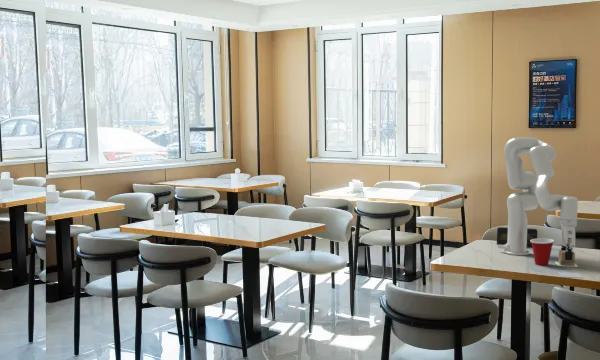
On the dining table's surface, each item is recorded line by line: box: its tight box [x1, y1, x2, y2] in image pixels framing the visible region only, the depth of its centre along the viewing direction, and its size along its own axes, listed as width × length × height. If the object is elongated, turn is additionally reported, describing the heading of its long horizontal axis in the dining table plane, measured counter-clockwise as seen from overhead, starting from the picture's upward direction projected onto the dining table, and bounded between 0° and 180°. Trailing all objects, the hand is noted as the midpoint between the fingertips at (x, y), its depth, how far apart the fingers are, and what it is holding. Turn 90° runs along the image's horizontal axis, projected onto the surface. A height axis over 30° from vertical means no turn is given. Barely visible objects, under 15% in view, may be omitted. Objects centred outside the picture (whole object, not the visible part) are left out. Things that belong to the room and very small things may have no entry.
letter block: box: [558, 249, 576, 267], centre depth 313 cm, size 6×6×6 cm
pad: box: [554, 261, 579, 268], centre depth 313 cm, size 9×9×1 cm
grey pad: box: [557, 271, 584, 279], centre depth 290 cm, size 9×9×1 cm
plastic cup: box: [530, 237, 555, 267], centre depth 312 cm, size 11×11×12 cm
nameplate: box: [496, 226, 538, 248], centre depth 359 cm, size 21×2×10 cm, turn 77°
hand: (566, 257), depth 313 cm, fingers open, 9 cm apart
